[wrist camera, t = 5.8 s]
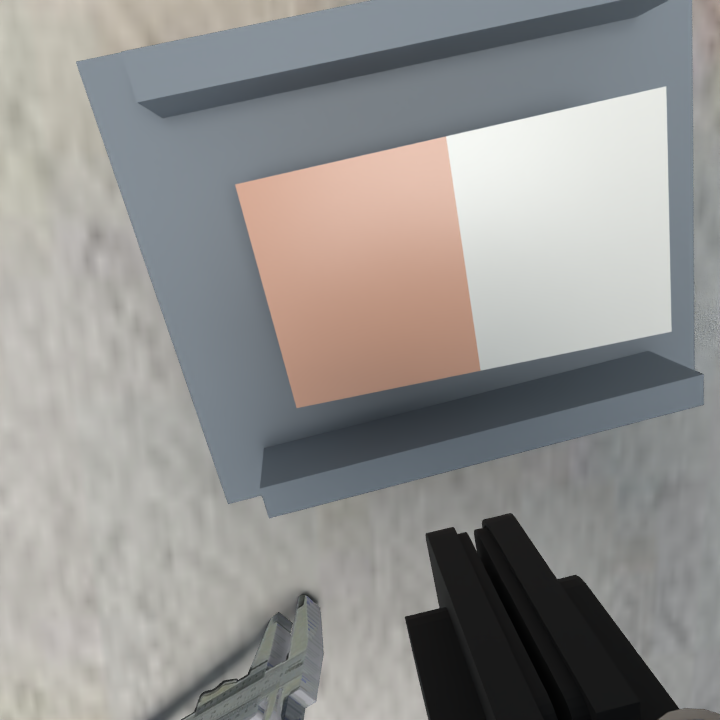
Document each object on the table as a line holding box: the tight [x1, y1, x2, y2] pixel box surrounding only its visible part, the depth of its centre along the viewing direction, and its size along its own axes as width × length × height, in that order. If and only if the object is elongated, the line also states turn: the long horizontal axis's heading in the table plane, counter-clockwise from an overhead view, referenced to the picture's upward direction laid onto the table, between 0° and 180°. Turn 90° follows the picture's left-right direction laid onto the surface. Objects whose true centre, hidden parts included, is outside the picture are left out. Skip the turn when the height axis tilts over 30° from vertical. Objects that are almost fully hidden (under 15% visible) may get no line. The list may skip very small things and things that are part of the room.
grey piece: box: [76, 0, 704, 518], centre depth 19 cm, size 20×16×5 cm
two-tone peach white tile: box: [235, 86, 672, 408], centre depth 16 cm, size 12×7×1 cm, turn 102°
